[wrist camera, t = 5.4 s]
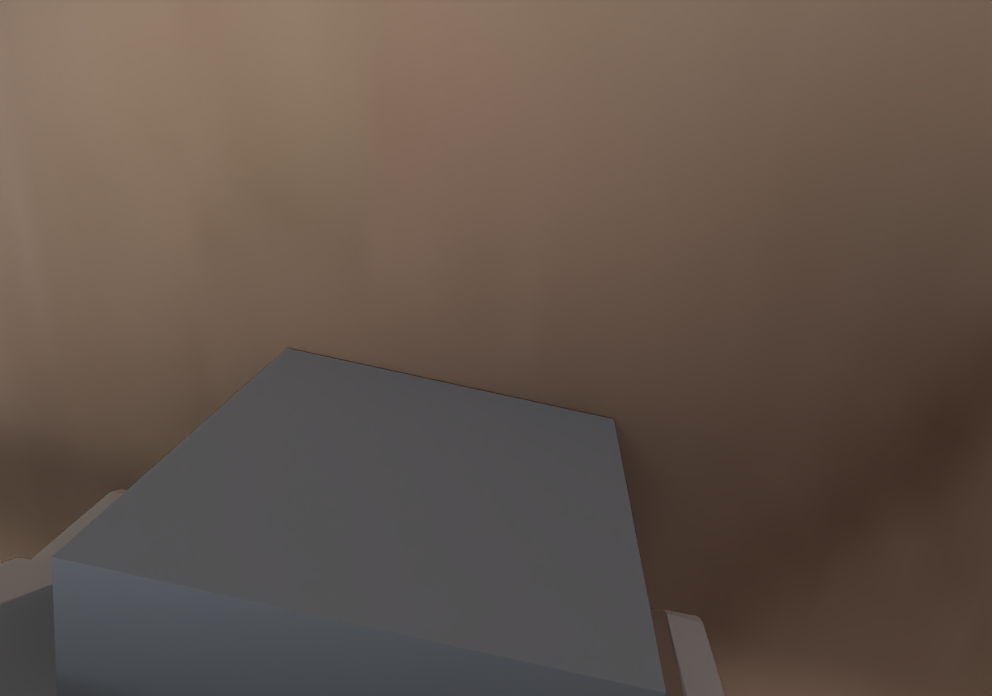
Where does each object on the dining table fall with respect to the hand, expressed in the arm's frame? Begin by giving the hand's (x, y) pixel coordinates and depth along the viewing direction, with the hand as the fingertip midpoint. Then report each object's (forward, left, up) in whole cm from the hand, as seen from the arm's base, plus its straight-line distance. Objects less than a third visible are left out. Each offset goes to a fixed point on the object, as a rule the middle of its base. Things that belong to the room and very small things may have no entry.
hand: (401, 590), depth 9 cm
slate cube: (0, 0, -2) cm, 2 cm away
